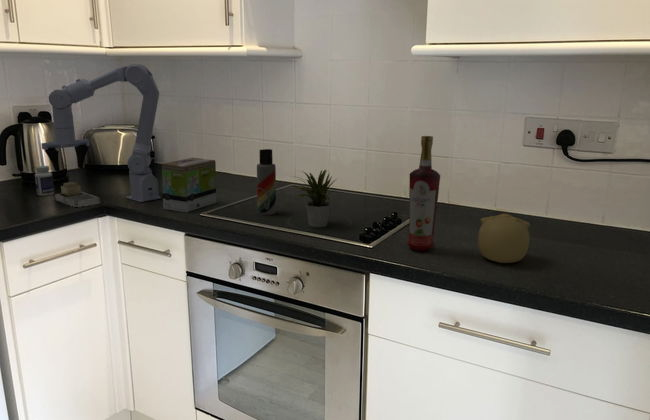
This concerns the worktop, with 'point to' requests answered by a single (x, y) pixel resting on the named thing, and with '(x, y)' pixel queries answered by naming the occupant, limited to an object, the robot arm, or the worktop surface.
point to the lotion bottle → (266, 183)
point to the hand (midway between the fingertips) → (69, 169)
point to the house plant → (317, 199)
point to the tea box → (189, 184)
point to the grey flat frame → (78, 199)
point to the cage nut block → (70, 189)
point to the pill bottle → (44, 181)
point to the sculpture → (503, 238)
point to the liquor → (423, 200)
